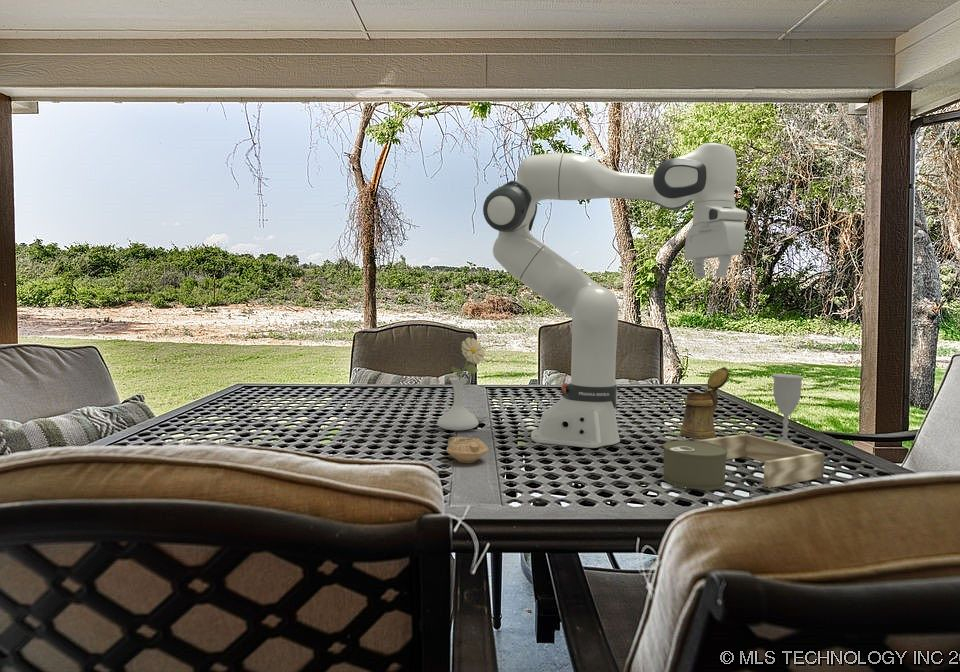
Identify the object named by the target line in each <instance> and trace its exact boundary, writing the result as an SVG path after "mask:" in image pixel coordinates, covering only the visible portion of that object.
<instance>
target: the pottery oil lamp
mask: <svg viewBox="0 0 960 672" xmlns="http://www.w3.org/2000/svg"><path fill="white" fill-rule="evenodd" d="M489 450H490V449H489V447H488V446H487V445H486V444H485V443H484V442H483V441H482V440H481V439H479V438H478V437H477V438H475V437H464V436H451V437H448V441H447V447H446V453H448V454H449V456H450V457H452V458H454V460H456V461H458V463H463V464H473V463H475V462H476V461H477V460H478V459H481V458H482V457H483V456H484V455H486V454H487V453H488V452H489Z"/></svg>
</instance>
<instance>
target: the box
mask: <svg viewBox="0 0 960 672" xmlns="http://www.w3.org/2000/svg"><path fill="white" fill-rule="evenodd" d="M695 441H700V442H707V443H712V444H716V445H719V446H722V447H724V448H726V449H727V456H726V461H727V460H732V459H738V458H740V459H741V458H748V459H752V460H756V461H759V462H763V463H764V464H763V468H764V469H763V485H762V486H765V487H764V488H766V487H768V488H767V489H771V487H772V488H775V487H781V486H785V485H791V484H796V483H800V482H806V481H811V480H815V479H822V478H824V469H825V452H821V451H817V450H813V449H808V448H804V447H801V446H796V445H794V444H793V445H794V446H793V445H789V444H785V443H781V442H776V441H777V440H776V441H775V440H771V439H767V438H763V437H759V436H755V435H752V434H746V433H741V434H734V435H727V436H720V437H714V438H710V439H697V440H696V439H695Z"/></svg>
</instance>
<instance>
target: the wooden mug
mask: <svg viewBox="0 0 960 672" xmlns="http://www.w3.org/2000/svg"><path fill="white" fill-rule="evenodd" d="M729 377H730V373H729V370H728V369H727V367H726V366H724V367H720V368H718V369H716V370H715V371H712V373H711V374H710V375H709V377H708V379H707V387H708V389H705V392H699V391H698V392H697V391H692V392H691V391H690V392H687V394H686V395H687V396H686V397H685V400H684V404H685V408H684V414H683V420H682V425H681V426H680V431H679V435H681V436H683V437H687V438H691V439H697V440H704V439H711V438H717V433H716V429H715V424H714V414H715V412H716V409H717V407H718V399H719V397H718V396H719V395H718V392H717V391H718V390H719V389H721V388H722V387H723V386H725V385H726V383H727V381H728V380H729Z"/></svg>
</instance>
